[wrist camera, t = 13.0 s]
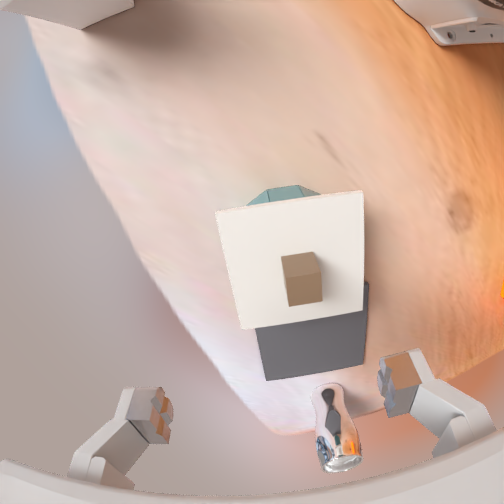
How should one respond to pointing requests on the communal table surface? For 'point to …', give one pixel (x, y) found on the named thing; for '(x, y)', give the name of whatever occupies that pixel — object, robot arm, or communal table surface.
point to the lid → (295, 258)
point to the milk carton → (68, 10)
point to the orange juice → (502, 291)
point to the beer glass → (335, 430)
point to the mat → (314, 344)
